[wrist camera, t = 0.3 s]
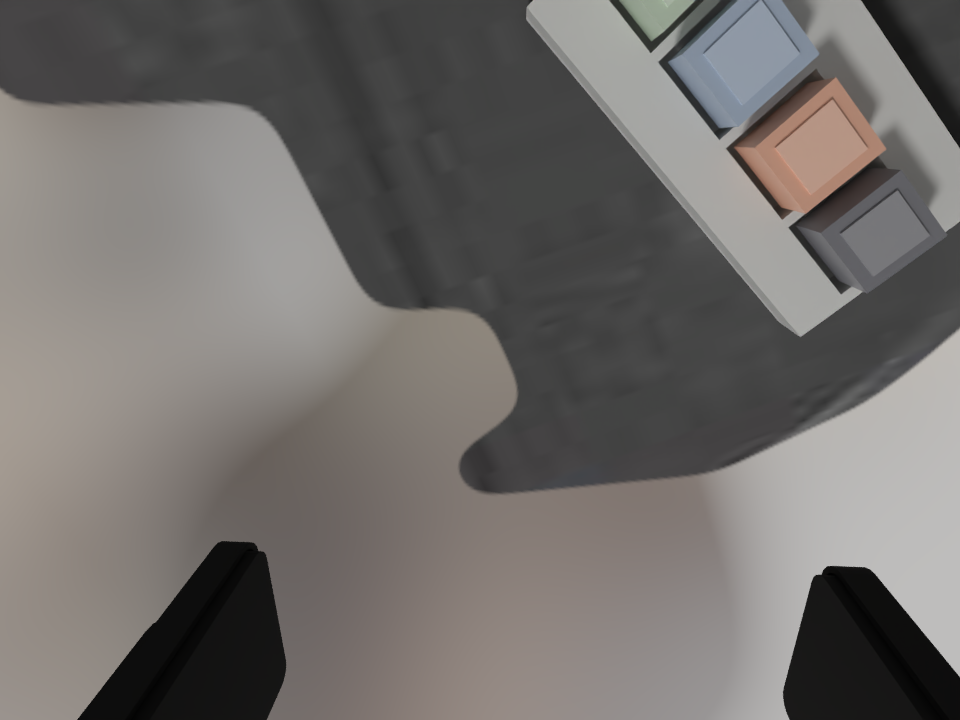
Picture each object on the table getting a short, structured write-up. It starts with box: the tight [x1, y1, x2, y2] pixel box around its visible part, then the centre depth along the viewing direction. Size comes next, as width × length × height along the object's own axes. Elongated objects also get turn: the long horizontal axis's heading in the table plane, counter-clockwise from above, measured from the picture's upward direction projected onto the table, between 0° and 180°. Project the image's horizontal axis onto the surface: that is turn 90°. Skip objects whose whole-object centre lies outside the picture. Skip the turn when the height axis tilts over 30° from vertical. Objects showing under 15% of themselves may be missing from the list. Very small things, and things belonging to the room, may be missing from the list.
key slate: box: [668, 0, 819, 128], centre depth 28 cm, size 5×5×3 cm
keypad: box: [526, 0, 960, 337], centre depth 31 cm, size 12×25×3 cm, turn 44°
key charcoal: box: [795, 167, 948, 293], centre depth 31 cm, size 5×5×3 cm
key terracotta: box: [734, 77, 886, 214], centre depth 30 cm, size 5×5×3 cm
